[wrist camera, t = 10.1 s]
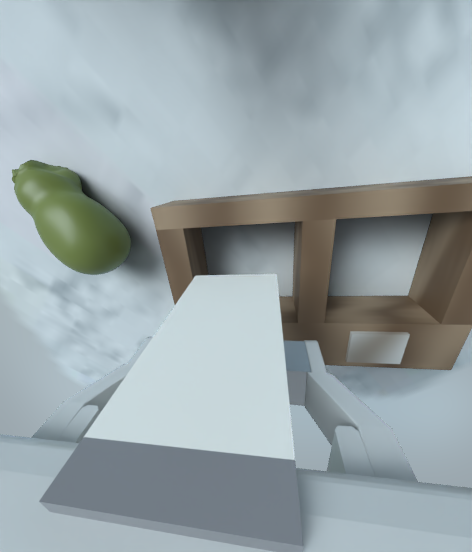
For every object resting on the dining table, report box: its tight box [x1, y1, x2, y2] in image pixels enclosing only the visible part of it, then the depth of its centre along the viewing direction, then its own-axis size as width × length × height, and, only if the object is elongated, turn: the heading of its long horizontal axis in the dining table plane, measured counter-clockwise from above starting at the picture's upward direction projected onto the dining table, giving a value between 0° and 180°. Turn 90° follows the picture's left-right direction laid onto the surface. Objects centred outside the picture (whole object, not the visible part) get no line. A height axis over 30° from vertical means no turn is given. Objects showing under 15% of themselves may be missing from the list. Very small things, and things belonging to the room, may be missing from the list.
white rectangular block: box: [39, 274, 304, 552], centre depth 8 cm, size 4×4×9 cm
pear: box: [12, 160, 131, 275], centre depth 18 cm, size 6×5×10 cm
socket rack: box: [151, 176, 472, 370], centre depth 17 cm, size 22×14×4 cm, turn 95°
